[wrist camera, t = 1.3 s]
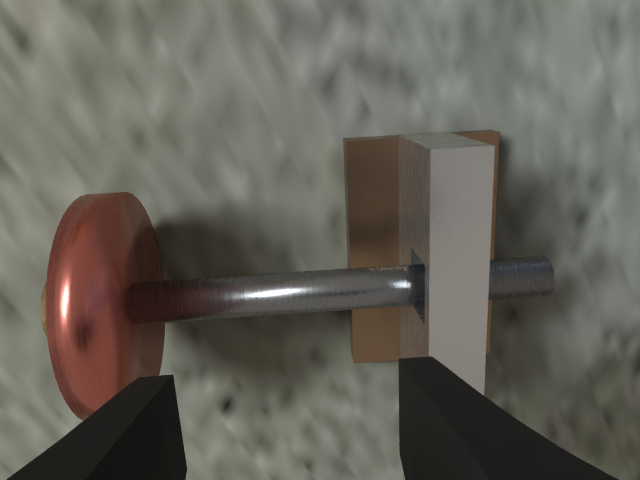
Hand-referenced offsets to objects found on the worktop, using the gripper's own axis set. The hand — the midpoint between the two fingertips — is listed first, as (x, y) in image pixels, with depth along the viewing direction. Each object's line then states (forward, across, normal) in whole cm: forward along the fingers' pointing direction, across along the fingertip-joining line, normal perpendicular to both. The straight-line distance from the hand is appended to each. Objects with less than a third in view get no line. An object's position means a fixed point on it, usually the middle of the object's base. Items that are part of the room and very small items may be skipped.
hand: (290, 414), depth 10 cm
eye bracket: (+9, -4, 0) cm, 10 cm away
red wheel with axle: (+9, 0, 0) cm, 9 cm away
